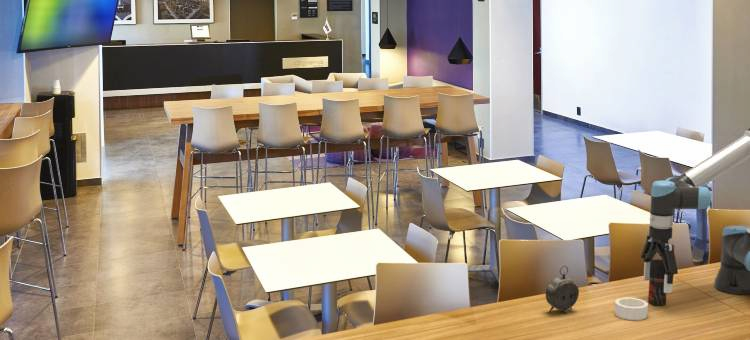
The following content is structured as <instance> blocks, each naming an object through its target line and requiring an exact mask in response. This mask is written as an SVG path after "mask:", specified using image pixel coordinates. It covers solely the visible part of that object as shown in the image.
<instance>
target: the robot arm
mask: <svg viewBox="0 0 750 340" xmlns="http://www.w3.org/2000/svg"><path fill="white" fill-rule="evenodd" d="M749 158H750V128H748V129H746V130H745V131H744V133H743V135H742V136H740V137H739V138H738V139H736V140H735V141H733V142H731V143H730V144H728V145H726V146H725V147H723V148H722V149H720V150H718V151H717V152H715V153H713V154H712V155H710V156H709V157H707V158H706V159H704V160H703V161H701V162H699V163H698V164H696V165H695V166H693V167H692V168H690V169H689V170H687V171H685V172H683V173H682V174H680V175H678V176H677V177H675V176H673V177H671V176H670V177H668V178H666V179H665V180H655V181H653V183H652V185H651V190H650V191H651V192H650V212H649V213H650V215H649V225H650V226H649V229H648V231H649V232H648V235H647V236H646V239H645V240H646V242H645V244H644V247H643V249H642V252H641V254H640V259H642V260H643V262H644V264H643V265H644V267H643V280H644V281H649V276H650V261H651V260H654V258H655V255H656V254H659V257H661V260H662V261H663V264H664V267H665V270H666V273H665V277H664V293H667V294H668V293H673V283H674V275H677V274H679V273H678V266H677V261H676V255H675V245H674V244H669V240H671V239H672V238H673V226H674V215H675V213H674V211H675V210H703V209H705V210H706V209H707V208H708V207H710V206H711V200H712V196H711V195H712V194H711V191H710V189H709V188H708V187H706V185H707V184H709V183H712V182H713V181H714V180H716V179H717V178H719V177H720V176H722V175H724V174H725V173H727V172H729V171H730V170H732V169H733V168H735V167H737V166H738V165H740V164H741V163H743V162H745V161H747V160H749ZM721 235H722V236H721V256H720V267H719V269H718V272H717V274H716V277H715V278H714V281H713V282H714V285H713V287H714V288H715V289H716V290H718V291H721V292H724V293H727V294H733V295H740V296H741V295H742V296H743V295H745V296H746V295H750V226H748V225H727V226H725V227H724V228H723V229H722V234H721Z"/></svg>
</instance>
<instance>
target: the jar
mask: <svg viewBox="0 0 750 340" xmlns="http://www.w3.org/2000/svg"><path fill="white" fill-rule="evenodd" d="M648 311H649V304H648V301H646V300H645V299H641V298H637V297H619V298H617V299H615V302H614V315H615V316H616V317H618V318H620V319H623V320H627V321H642V320H645V319H647V318H648V313H649V312H648Z"/></svg>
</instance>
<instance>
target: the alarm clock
mask: <svg viewBox="0 0 750 340" xmlns="http://www.w3.org/2000/svg"><path fill="white" fill-rule="evenodd" d="M563 268H566V270H567V271H566V273H562V269H563ZM568 272H569V267H568V266H566V265H562V266H561V267H560V268H559V274H560V275H559V276H557V277H555V278H553V279H552V280H551V281H550V282H549V283H548V285H547V286H546V289H545V300H546V302H547V304H549V305H550V306H551V307H550V310H548V313H551V312H552V311H553V309H556V310H558V311H564V314H566V315H567V310H569V309H570V310H572V309H573V306H575V304H576V302H577V301H578V299H579V294H580V289H579V286H578V285H577V283H576V282H575V281H574V280H573V279H571V278H569V277H567V276H566V275H567V274H568Z"/></svg>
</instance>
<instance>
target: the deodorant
mask: <svg viewBox="0 0 750 340" xmlns="http://www.w3.org/2000/svg"><path fill="white" fill-rule="evenodd" d="M665 273H666V270H665V267H664V264H663V261H662V259H652V260H651V261H650V276H649V280H648V297H647V298H648V301H647V303H648V305H650V306H652V307H658V306H659V307H660V306H661V307H665V306H667V295H668V293H664V277H665Z"/></svg>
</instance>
